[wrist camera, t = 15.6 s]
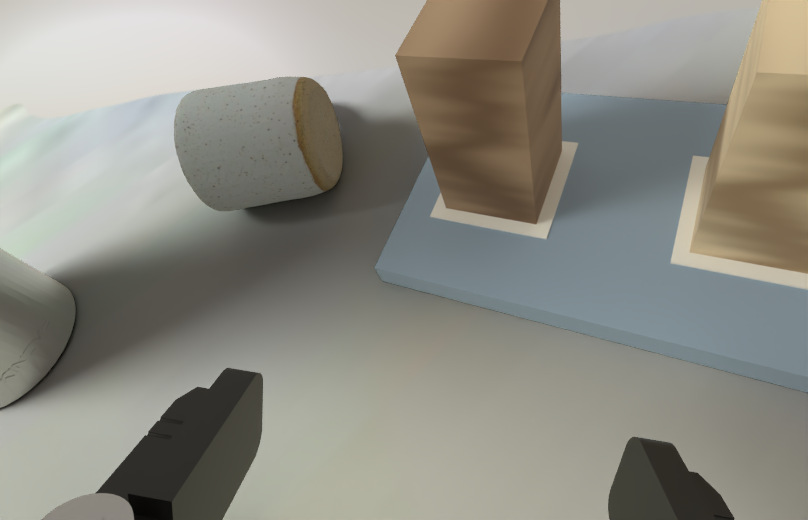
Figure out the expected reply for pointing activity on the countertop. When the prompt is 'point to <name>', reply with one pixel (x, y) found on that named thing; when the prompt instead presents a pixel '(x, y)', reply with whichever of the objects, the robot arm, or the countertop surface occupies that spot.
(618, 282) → the board
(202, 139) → the ceramic mug
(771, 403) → the countertop surface
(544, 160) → the walnut pillar
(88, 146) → the countertop surface
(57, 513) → the robot arm
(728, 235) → the oak pillar
